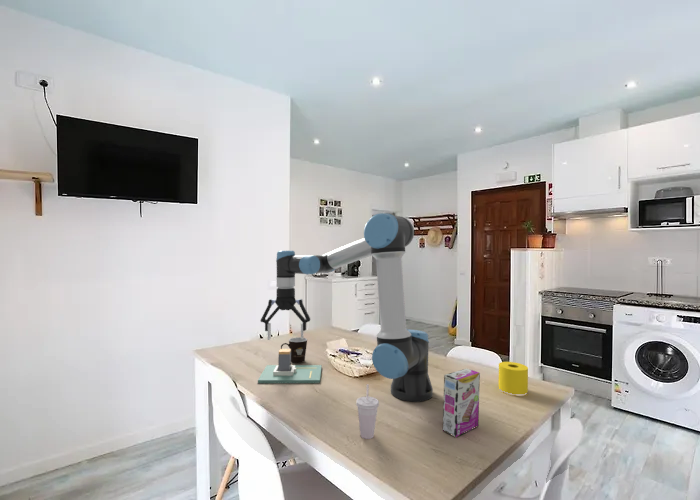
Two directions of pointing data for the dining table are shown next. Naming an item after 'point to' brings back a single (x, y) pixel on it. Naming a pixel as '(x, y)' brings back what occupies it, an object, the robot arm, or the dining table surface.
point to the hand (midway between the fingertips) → (285, 338)
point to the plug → (284, 360)
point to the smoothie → (367, 415)
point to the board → (291, 374)
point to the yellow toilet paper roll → (513, 377)
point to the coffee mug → (297, 349)
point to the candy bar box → (461, 401)
